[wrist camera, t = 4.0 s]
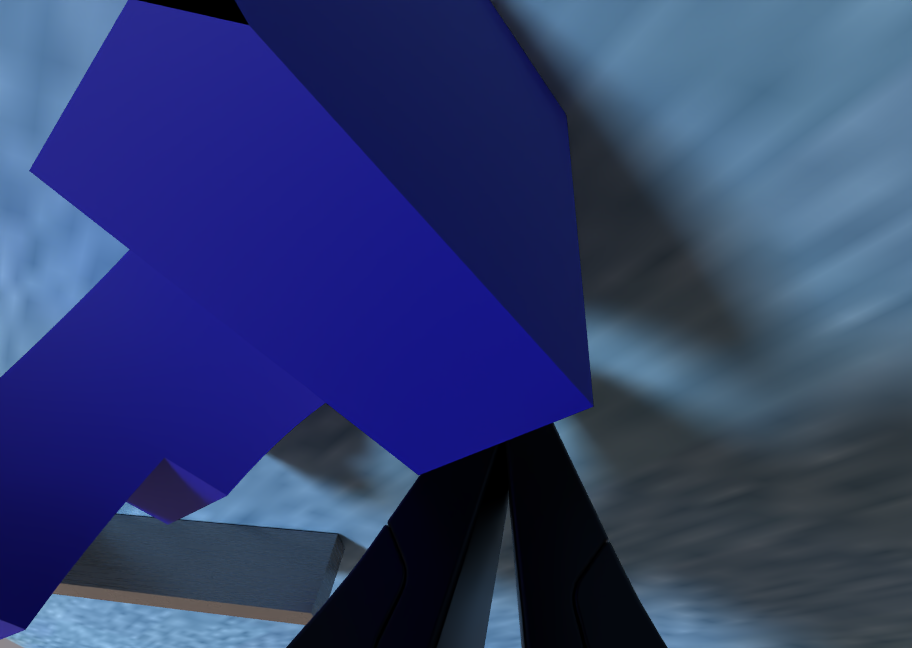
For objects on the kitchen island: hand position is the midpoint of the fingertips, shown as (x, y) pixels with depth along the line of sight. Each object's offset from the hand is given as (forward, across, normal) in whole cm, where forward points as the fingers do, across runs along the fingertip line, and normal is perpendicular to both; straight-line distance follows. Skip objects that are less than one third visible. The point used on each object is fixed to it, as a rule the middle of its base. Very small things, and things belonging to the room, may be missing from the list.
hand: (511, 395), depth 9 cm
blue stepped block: (+2, +4, -2) cm, 5 cm away
